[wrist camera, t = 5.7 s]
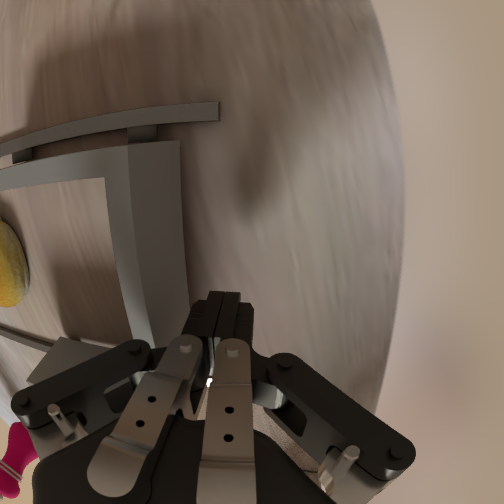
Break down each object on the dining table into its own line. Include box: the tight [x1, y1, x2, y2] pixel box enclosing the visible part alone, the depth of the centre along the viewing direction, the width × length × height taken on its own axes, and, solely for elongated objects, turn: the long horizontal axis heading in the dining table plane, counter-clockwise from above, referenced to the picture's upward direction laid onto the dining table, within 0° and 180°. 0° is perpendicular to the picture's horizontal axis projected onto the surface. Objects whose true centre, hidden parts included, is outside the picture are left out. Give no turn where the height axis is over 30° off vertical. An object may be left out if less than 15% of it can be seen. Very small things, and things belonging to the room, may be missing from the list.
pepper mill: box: [0, 422, 38, 500], centre depth 22 cm, size 7×7×20 cm
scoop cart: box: [0, 125, 190, 394], centre depth 15 cm, size 13×18×6 cm
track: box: [0, 102, 220, 386], centre depth 18 cm, size 34×20×1 cm, turn 89°
